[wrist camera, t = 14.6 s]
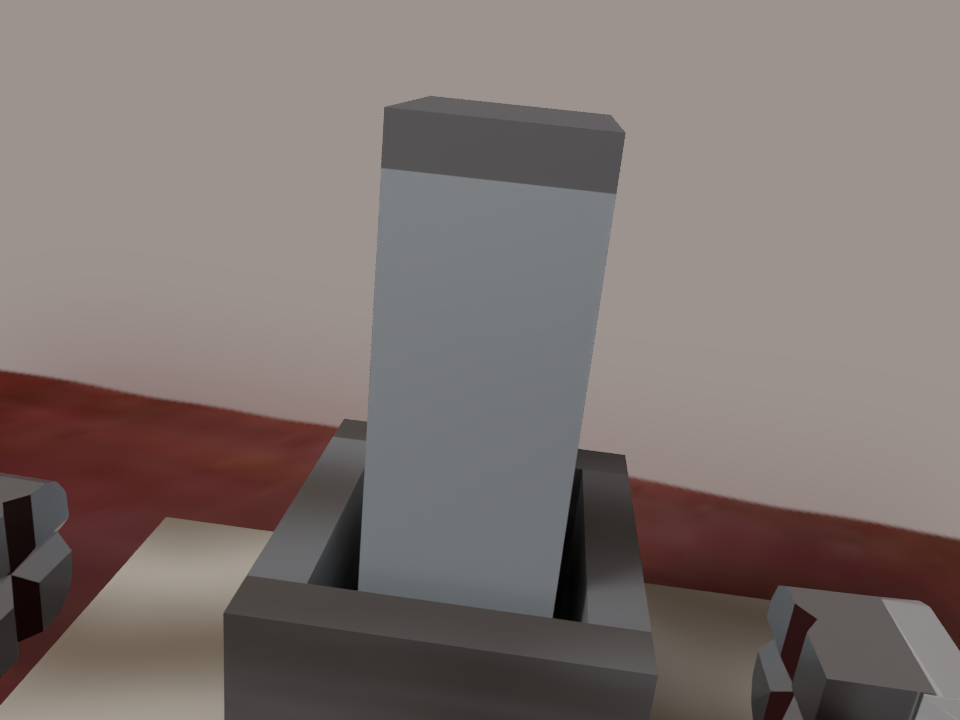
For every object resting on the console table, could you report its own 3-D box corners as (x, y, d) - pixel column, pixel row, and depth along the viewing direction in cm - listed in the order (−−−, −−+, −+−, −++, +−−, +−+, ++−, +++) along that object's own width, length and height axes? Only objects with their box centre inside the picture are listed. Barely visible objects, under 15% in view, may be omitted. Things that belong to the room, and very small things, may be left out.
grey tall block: (526, 786, 18) (625, 132, 14) (349, 759, 19) (384, 107, 14) (535, 640, 23) (610, 114, 18) (392, 619, 23) (430, 96, 19)
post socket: (940, 1070, 15) (1059, 799, 13) (-106, 895, 16) (-160, 618, 14) (781, 642, 27) (830, 458, 24) (167, 556, 28) (161, 373, 25)
